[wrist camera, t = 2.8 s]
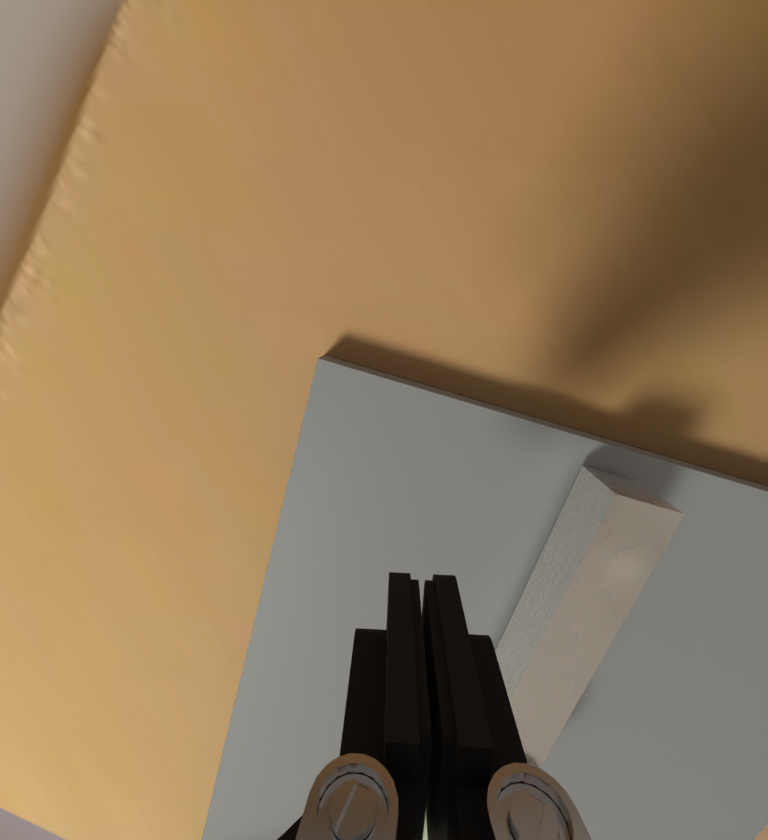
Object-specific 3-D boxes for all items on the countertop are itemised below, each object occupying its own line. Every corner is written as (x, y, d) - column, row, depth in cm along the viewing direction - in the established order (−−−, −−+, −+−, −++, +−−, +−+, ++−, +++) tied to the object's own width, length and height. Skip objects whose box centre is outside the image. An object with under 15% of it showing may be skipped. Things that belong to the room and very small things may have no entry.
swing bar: (508, 768, 19) (526, 847, 17) (431, 747, 19) (436, 824, 16) (658, 487, 15) (719, 529, 12) (561, 458, 15) (599, 494, 12)
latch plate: (952, 541, 17) (1095, 601, 13) (635, 935, 25) (673, 1035, 21) (324, 354, 16) (302, 367, 12) (208, 827, 24) (175, 915, 20)
